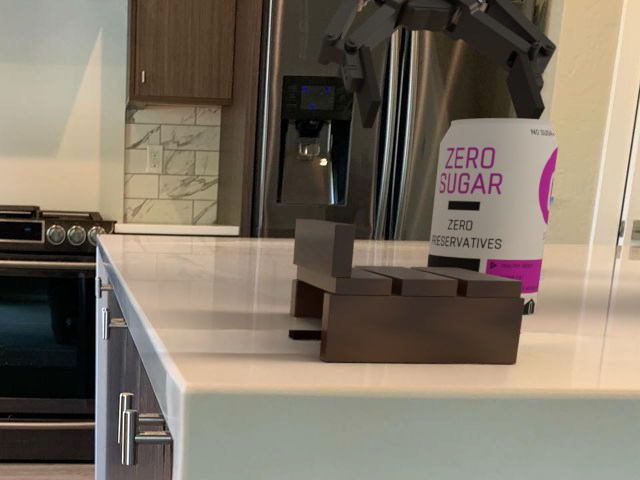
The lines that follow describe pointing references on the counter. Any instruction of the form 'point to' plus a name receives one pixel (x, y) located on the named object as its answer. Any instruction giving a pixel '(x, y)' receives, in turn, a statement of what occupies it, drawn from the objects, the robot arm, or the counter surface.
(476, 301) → the rack
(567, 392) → the counter surface
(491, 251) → the supplement can
